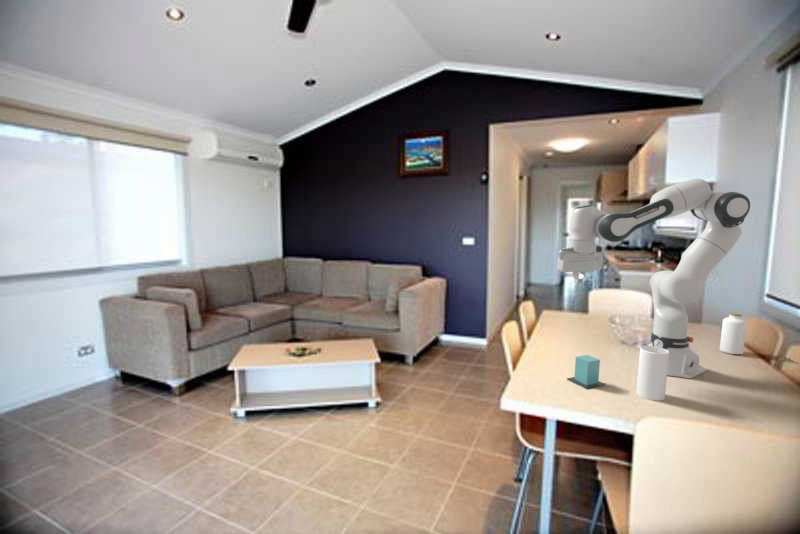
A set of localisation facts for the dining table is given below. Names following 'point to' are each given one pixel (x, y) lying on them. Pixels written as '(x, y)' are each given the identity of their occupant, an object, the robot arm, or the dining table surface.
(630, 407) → the dining table surface
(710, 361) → the dining table surface
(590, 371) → the teal rectangular block
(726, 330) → the potion bottle
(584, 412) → the dining table surface
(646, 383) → the cup
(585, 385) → the post
